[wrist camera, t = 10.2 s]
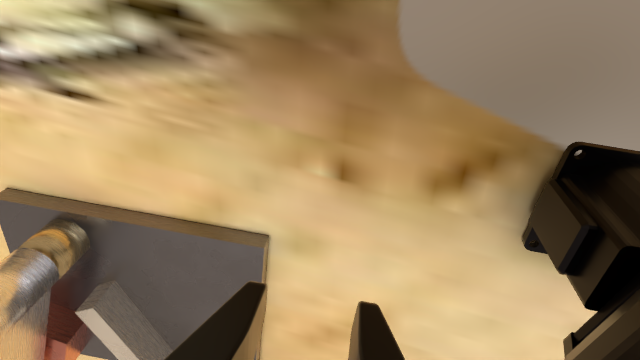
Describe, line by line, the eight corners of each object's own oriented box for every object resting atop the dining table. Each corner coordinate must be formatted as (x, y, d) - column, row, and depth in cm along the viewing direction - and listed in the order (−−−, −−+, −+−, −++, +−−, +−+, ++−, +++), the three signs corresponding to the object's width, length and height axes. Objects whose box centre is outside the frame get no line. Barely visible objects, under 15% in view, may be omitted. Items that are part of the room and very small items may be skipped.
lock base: (268, 235, 25) (253, 276, 22) (257, 374, 32) (244, 420, 29) (2, 187, 25) (-50, 220, 22) (49, 333, 32) (15, 373, 29)
